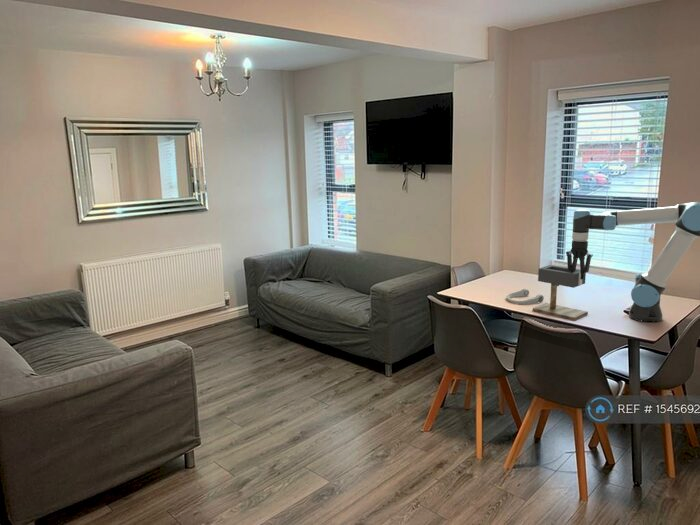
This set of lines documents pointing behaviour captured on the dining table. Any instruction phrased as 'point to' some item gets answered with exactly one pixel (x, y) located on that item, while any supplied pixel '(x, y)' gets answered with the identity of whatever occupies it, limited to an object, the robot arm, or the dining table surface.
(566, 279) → the grey storage bin
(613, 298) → the dining table surface
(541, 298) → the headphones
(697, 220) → the robot arm
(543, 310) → the hook board
